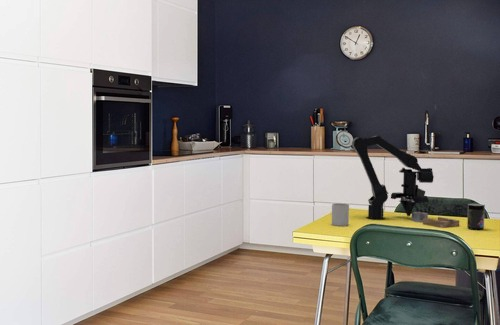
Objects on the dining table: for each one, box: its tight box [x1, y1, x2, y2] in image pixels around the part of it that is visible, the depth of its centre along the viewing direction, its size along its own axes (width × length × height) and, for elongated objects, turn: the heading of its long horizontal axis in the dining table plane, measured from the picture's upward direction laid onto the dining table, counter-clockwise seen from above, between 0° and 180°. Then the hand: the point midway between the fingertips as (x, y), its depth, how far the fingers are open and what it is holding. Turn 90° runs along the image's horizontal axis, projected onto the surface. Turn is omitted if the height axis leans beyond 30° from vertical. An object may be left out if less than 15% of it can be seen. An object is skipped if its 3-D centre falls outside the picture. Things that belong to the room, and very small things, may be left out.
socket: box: [411, 211, 429, 223], centre depth 286 cm, size 5×5×4 cm
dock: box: [422, 216, 460, 229], centre depth 275 cm, size 10×11×3 cm
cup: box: [331, 203, 350, 227], centre depth 273 cm, size 7×10×9 cm
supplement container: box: [466, 203, 486, 231], centre depth 265 cm, size 7×7×10 cm
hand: (408, 215), depth 292 cm, fingers closed
